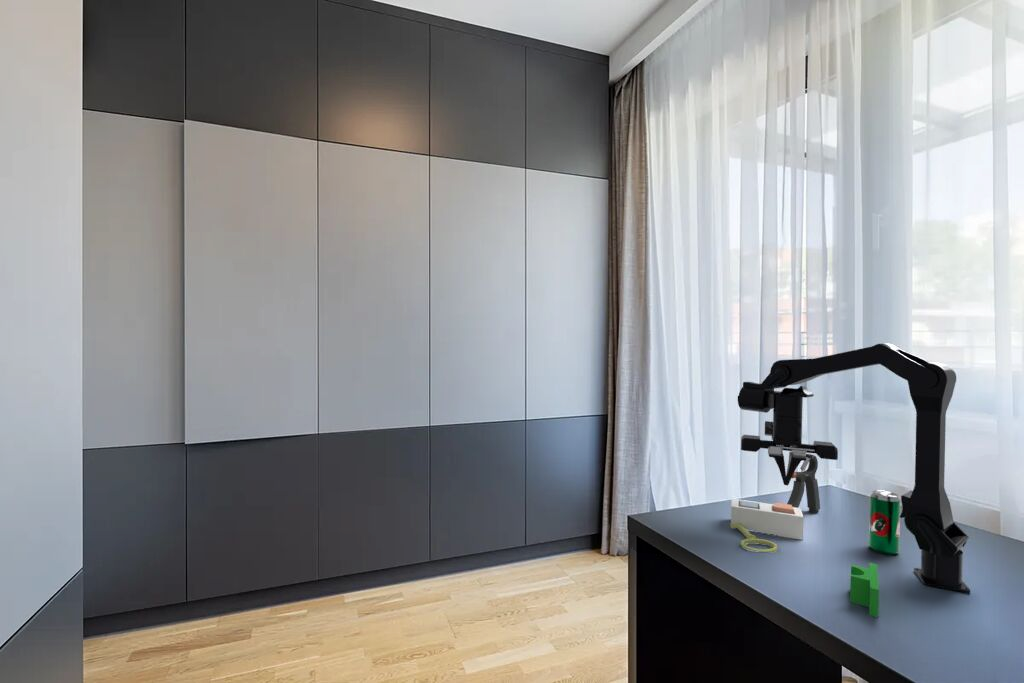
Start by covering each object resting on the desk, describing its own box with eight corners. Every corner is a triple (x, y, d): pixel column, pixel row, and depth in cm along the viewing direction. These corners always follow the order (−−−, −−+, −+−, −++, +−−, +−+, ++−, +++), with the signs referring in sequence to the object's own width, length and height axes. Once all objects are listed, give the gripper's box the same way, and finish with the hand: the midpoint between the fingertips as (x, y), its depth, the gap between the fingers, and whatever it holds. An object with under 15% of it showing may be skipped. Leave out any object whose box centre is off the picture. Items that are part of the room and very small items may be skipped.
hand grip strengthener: (781, 517, 123) (782, 456, 123) (811, 510, 129) (813, 451, 129) (790, 520, 121) (791, 458, 121) (820, 513, 127) (822, 453, 127)
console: (802, 539, 109) (803, 517, 109) (730, 528, 115) (731, 506, 115) (799, 529, 115) (800, 508, 115) (731, 519, 121) (731, 498, 121)
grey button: (757, 527, 114) (757, 507, 114) (740, 524, 116) (740, 505, 116) (756, 522, 118) (757, 502, 117) (740, 519, 119) (740, 500, 119)
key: (738, 530, 115) (739, 521, 115) (782, 553, 103) (782, 543, 103) (712, 534, 113) (712, 524, 113) (754, 557, 101) (754, 547, 101)
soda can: (903, 557, 101) (904, 498, 101) (873, 553, 103) (875, 495, 103) (893, 547, 106) (895, 491, 106) (865, 543, 108) (866, 488, 108)
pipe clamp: (850, 583, 91) (851, 558, 90) (876, 590, 88) (877, 564, 88) (849, 610, 81) (850, 582, 81) (878, 618, 79) (879, 589, 79)
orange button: (792, 530, 111) (793, 509, 111) (774, 527, 113) (774, 507, 113) (791, 524, 115) (791, 504, 115) (773, 522, 116) (773, 502, 116)
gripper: (830, 414, 116) (829, 481, 116) (741, 408, 124) (740, 471, 124) (839, 421, 106) (837, 494, 106) (741, 414, 114) (740, 482, 114)
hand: (785, 484), depth 113 cm, fingers closed
